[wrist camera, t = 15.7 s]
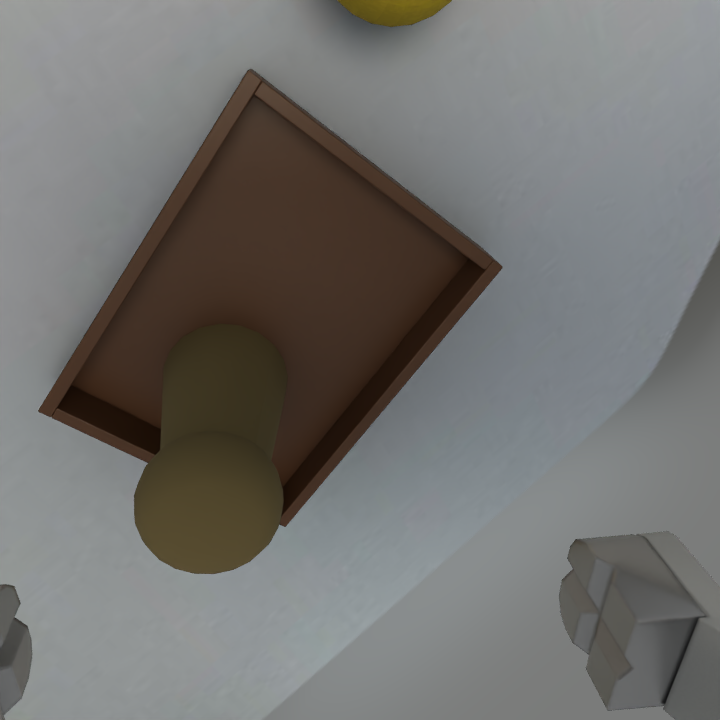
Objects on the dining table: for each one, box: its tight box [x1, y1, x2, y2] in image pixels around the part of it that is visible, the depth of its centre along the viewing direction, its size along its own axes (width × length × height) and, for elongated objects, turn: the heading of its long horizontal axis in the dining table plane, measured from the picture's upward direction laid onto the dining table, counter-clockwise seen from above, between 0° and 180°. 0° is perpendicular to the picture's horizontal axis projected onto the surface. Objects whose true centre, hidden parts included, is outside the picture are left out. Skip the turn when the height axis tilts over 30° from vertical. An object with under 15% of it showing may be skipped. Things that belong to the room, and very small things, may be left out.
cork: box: [134, 324, 288, 574], centre depth 25 cm, size 6×6×11 cm
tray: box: [38, 69, 502, 527], centre depth 28 cm, size 13×17×3 cm
